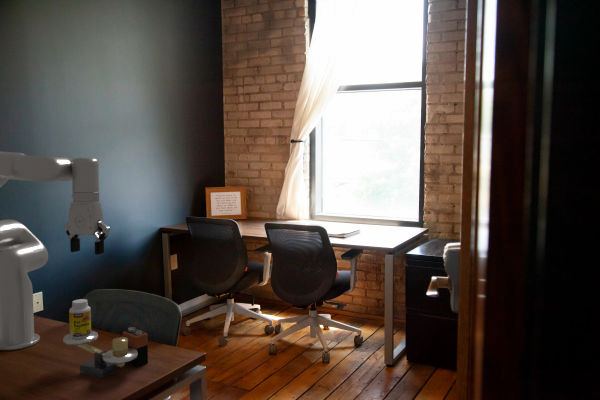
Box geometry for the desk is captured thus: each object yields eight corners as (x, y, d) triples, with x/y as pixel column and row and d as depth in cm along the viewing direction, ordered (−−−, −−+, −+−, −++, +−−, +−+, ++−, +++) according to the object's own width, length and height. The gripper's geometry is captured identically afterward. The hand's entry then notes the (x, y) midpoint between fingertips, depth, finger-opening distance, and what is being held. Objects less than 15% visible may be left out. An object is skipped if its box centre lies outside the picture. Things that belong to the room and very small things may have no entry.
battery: (135, 357, 143) (134, 325, 143) (148, 363, 139) (148, 330, 139) (122, 362, 140) (121, 328, 139) (135, 368, 136) (135, 334, 135)
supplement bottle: (71, 341, 132) (70, 304, 131) (68, 335, 137) (67, 299, 136) (93, 337, 135) (92, 301, 134) (89, 331, 140) (88, 297, 139)
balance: (56, 370, 134) (55, 339, 133) (81, 358, 142) (81, 329, 142) (122, 385, 126) (121, 351, 125) (144, 371, 134) (144, 340, 133)
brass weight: (109, 355, 130) (108, 341, 129) (119, 350, 133) (119, 336, 133) (120, 357, 128) (120, 343, 128) (131, 352, 132) (131, 338, 132)
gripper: (54, 197, 147) (56, 252, 148) (98, 199, 141) (100, 257, 142) (74, 196, 154) (75, 248, 155) (117, 198, 148) (118, 252, 149)
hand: (87, 252), depth 149 cm, fingers open, 9 cm apart
